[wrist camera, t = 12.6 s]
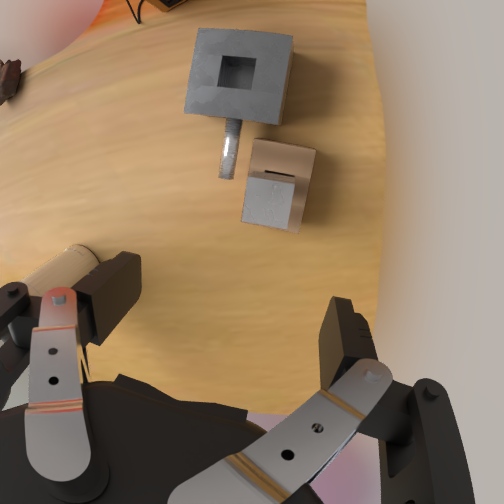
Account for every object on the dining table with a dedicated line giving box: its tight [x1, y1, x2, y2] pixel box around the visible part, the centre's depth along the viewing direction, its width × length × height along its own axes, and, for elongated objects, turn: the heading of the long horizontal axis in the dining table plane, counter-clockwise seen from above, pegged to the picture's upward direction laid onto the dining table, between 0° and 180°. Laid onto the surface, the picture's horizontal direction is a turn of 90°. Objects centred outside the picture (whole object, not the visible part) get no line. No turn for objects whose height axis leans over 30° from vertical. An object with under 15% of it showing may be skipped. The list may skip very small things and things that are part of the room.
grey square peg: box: [242, 171, 295, 229], centre depth 31 cm, size 4×4×12 cm
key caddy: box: [241, 138, 316, 234], centre depth 36 cm, size 10×7×4 cm
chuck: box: [184, 28, 294, 179], centre depth 31 cm, size 17×10×7 cm, turn 171°
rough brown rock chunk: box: [0, 59, 21, 105], centre depth 34 cm, size 6×7×10 cm
